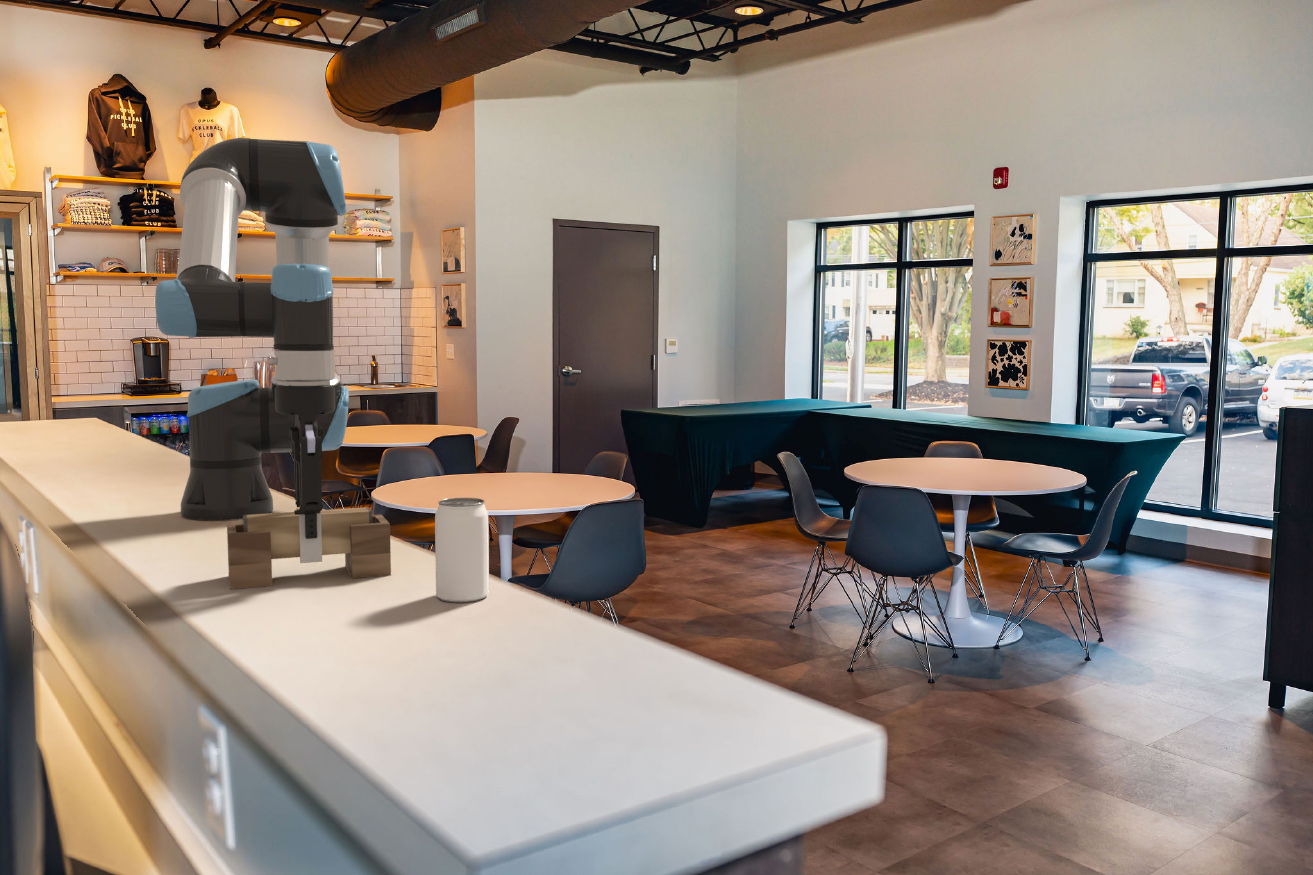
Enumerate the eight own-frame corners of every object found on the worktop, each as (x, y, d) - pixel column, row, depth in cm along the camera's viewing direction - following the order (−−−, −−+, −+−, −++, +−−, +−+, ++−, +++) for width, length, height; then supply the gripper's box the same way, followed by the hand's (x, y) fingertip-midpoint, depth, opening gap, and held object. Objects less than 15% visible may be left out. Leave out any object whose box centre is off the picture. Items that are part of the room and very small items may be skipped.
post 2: (391, 574, 138) (389, 523, 137) (352, 578, 136) (351, 526, 135) (382, 563, 144) (381, 514, 144) (345, 566, 142) (344, 516, 142)
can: (477, 605, 123) (476, 506, 122) (427, 601, 125) (425, 504, 123) (496, 591, 130) (495, 498, 128) (448, 588, 131) (447, 496, 130)
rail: (244, 556, 135) (243, 515, 134) (369, 546, 141) (368, 507, 141) (245, 561, 132) (244, 519, 131) (372, 551, 138) (371, 511, 138)
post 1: (228, 576, 136) (226, 524, 136) (268, 572, 138) (267, 521, 138) (230, 589, 130) (228, 534, 129) (272, 585, 132) (270, 531, 131)
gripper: (270, 380, 140) (275, 549, 142) (278, 386, 125) (284, 574, 128) (327, 380, 143) (331, 544, 145) (342, 386, 128) (346, 569, 131)
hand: (309, 558), depth 137 cm, fingers closed on rail, 3 cm apart
